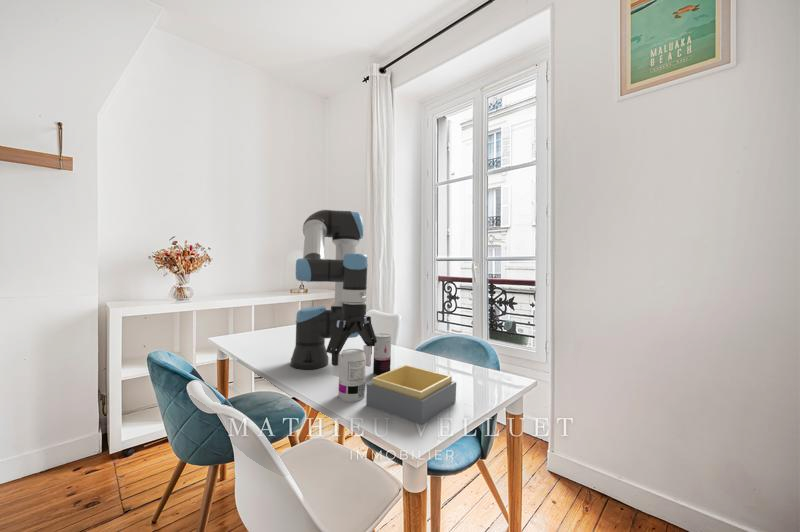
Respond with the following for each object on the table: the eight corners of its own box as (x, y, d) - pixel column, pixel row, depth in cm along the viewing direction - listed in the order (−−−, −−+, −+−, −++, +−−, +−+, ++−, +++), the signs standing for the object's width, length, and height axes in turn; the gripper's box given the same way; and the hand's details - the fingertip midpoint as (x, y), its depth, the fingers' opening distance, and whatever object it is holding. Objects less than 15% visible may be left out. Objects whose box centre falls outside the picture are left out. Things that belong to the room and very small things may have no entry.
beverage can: (389, 371, 141) (390, 333, 140) (390, 376, 134) (392, 337, 134) (372, 371, 140) (373, 333, 139) (373, 376, 133) (374, 337, 133)
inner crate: (371, 404, 106) (372, 378, 106) (404, 388, 120) (405, 364, 120) (420, 421, 96) (421, 392, 96) (450, 401, 110) (451, 376, 110)
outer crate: (366, 407, 106) (366, 384, 106) (404, 388, 122) (404, 368, 122) (421, 427, 94) (422, 401, 94) (455, 404, 110) (456, 381, 110)
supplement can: (334, 402, 109) (335, 353, 109) (344, 392, 117) (345, 347, 117) (359, 405, 107) (360, 356, 107) (368, 395, 115) (369, 349, 115)
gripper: (333, 307, 99) (331, 383, 99) (388, 301, 119) (386, 364, 119) (315, 304, 103) (313, 377, 103) (371, 299, 123) (369, 360, 124)
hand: (352, 370), depth 111 cm, fingers open, 13 cm apart
